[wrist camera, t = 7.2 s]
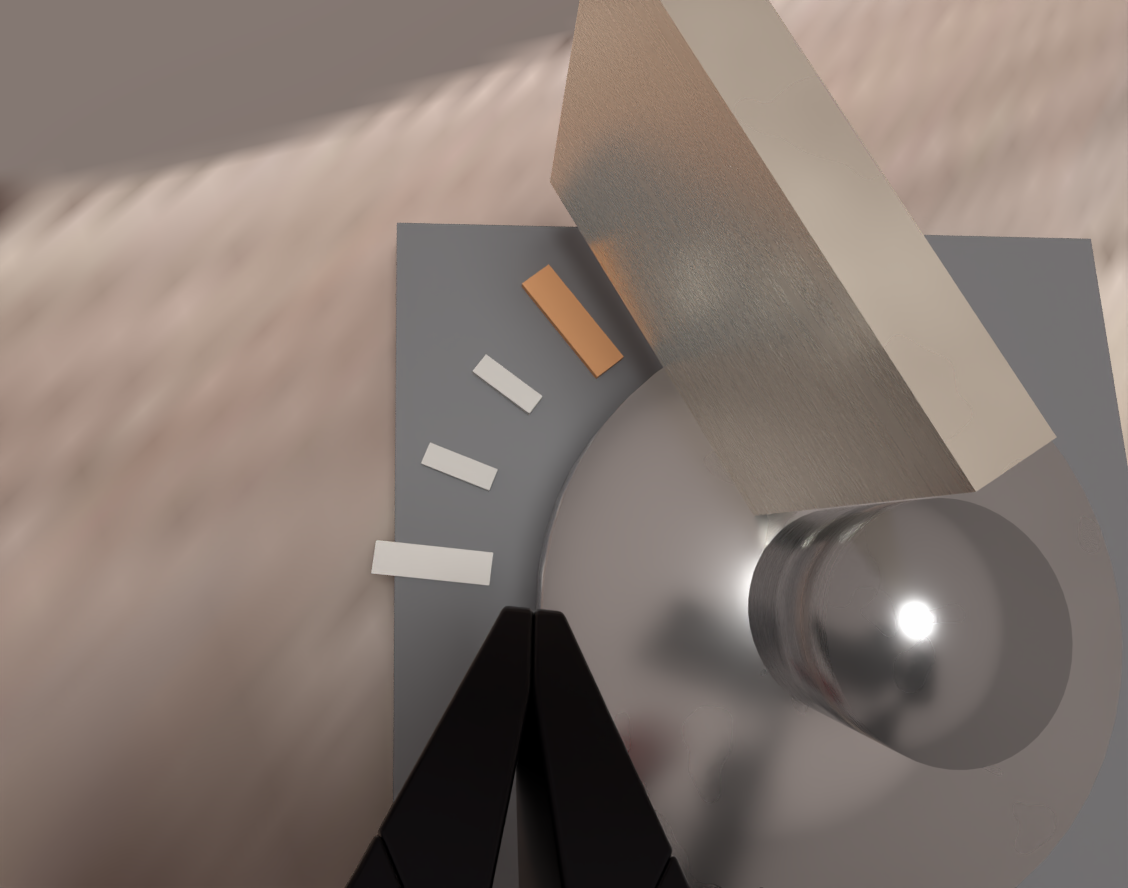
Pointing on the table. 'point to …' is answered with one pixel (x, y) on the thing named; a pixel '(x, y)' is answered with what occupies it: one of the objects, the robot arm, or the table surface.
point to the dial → (812, 492)
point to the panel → (596, 390)
